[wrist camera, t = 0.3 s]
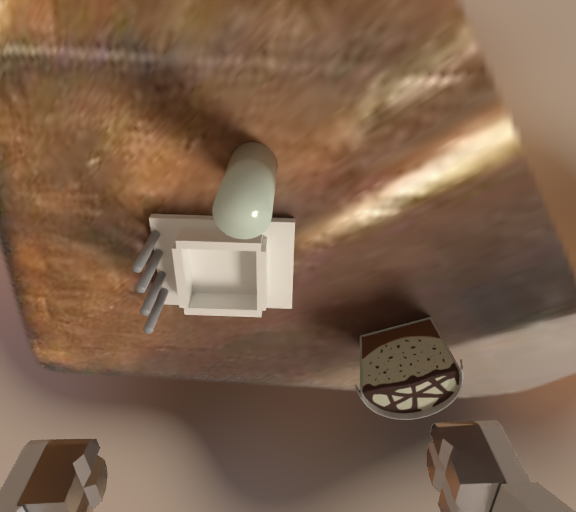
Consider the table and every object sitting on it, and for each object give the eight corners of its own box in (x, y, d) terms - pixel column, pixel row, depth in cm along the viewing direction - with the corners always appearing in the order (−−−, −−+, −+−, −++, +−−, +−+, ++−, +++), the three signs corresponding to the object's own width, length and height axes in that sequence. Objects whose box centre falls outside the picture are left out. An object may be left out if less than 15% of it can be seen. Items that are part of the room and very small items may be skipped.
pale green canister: (228, 141, 46) (210, 184, 37) (277, 142, 46) (272, 186, 37) (230, 187, 49) (214, 238, 40) (277, 188, 49) (271, 240, 40)
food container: (361, 370, 63) (371, 432, 55) (348, 338, 60) (356, 399, 52) (451, 347, 60) (476, 409, 52) (442, 313, 57) (467, 373, 49)
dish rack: (151, 213, 51) (128, 251, 44) (295, 218, 51) (294, 256, 44) (164, 299, 57) (146, 343, 51) (291, 303, 57) (290, 348, 50)
